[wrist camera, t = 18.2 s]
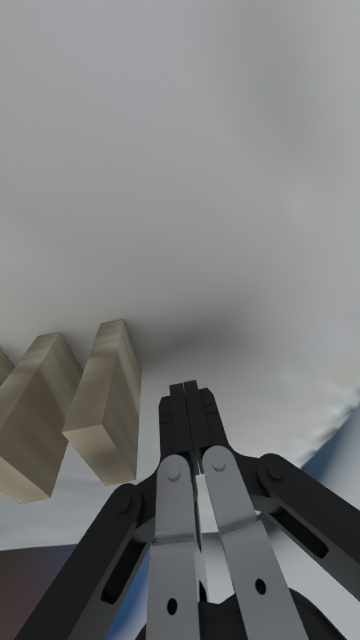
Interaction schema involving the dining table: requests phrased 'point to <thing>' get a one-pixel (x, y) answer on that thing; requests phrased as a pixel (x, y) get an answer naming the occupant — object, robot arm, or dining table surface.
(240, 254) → the dining table surface
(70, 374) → the domino
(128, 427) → the domino
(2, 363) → the domino
